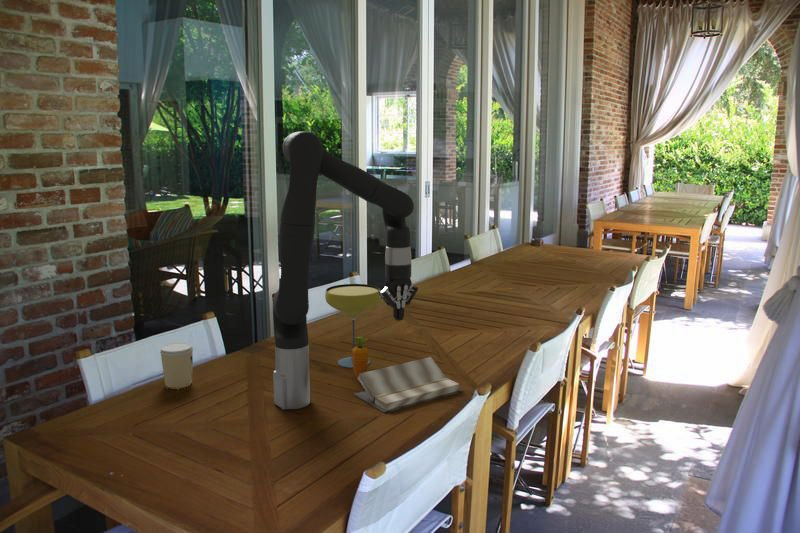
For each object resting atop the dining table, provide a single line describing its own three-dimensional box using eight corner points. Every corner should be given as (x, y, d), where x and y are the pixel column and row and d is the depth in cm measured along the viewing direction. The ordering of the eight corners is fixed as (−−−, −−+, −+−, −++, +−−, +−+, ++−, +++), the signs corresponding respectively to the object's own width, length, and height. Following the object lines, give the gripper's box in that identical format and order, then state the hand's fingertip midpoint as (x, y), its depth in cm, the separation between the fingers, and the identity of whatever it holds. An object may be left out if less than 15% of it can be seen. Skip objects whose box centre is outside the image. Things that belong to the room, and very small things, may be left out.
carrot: (360, 378, 207) (359, 332, 204) (371, 382, 204) (371, 335, 201) (348, 383, 203) (348, 335, 200) (360, 386, 200) (360, 338, 197)
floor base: (384, 413, 181) (384, 404, 180) (353, 395, 194) (353, 386, 193) (462, 391, 197) (463, 382, 196) (429, 375, 209) (429, 368, 209)
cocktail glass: (348, 376, 209) (347, 298, 204) (315, 361, 223) (314, 288, 218) (392, 363, 221) (392, 290, 216) (358, 350, 234) (357, 281, 230)
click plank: (372, 401, 187) (374, 396, 186) (357, 378, 193) (359, 373, 191) (444, 382, 202) (446, 377, 201) (428, 361, 207) (430, 356, 206)
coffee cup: (200, 384, 202) (198, 346, 200) (172, 393, 195) (169, 353, 193) (185, 377, 208) (182, 340, 206) (156, 385, 201) (154, 347, 199)
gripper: (386, 266, 185) (387, 326, 188) (424, 261, 192) (424, 319, 196) (371, 262, 191) (372, 320, 194) (409, 257, 199) (409, 313, 202)
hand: (398, 319), depth 195 cm, fingers closed
